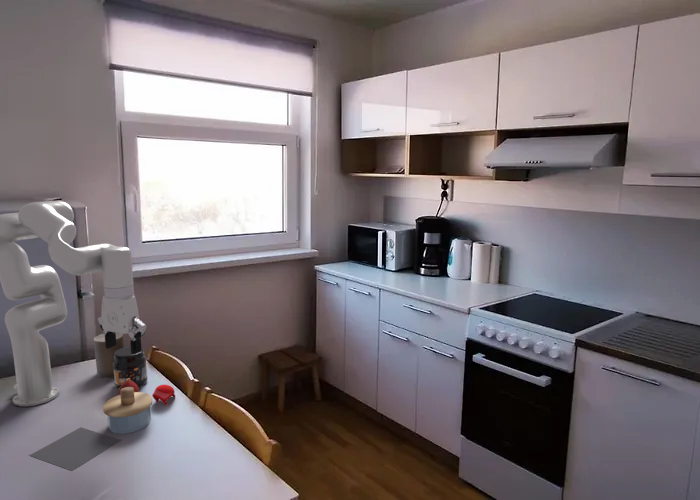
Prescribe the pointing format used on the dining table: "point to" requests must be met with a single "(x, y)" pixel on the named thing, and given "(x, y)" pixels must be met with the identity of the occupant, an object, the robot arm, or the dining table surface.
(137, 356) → the supplement container
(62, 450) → the mat
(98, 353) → the pillar candle
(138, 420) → the bowl
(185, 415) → the dining table surface
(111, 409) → the lid
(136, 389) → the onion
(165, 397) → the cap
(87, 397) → the dining table surface
